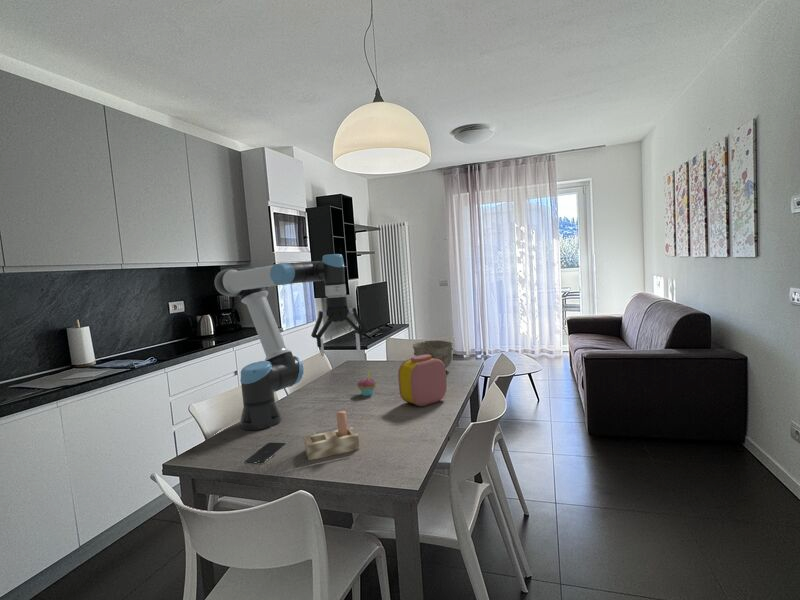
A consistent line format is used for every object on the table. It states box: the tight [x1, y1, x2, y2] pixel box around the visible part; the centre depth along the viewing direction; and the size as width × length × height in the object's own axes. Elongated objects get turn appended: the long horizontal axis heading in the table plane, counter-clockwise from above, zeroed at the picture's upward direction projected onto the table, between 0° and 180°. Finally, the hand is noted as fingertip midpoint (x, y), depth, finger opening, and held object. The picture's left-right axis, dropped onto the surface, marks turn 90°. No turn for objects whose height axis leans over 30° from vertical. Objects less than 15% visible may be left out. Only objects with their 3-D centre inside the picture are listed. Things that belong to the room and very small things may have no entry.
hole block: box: [303, 426, 360, 461], centre depth 139 cm, size 16×8×5 cm, turn 110°
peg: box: [336, 410, 348, 437], centre depth 140 cm, size 3×3×12 cm
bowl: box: [412, 339, 454, 369], centre depth 230 cm, size 22×22×15 cm
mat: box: [316, 427, 338, 434], centre depth 152 cm, size 10×10×1 cm
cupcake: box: [357, 368, 377, 397], centre depth 197 cm, size 9×8×12 cm
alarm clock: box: [397, 354, 448, 407], centre depth 181 cm, size 18×11×19 cm, turn 126°
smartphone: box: [244, 442, 287, 464], centre depth 141 cm, size 7×1×15 cm
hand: (340, 353), depth 161 cm, fingers open, 13 cm apart
